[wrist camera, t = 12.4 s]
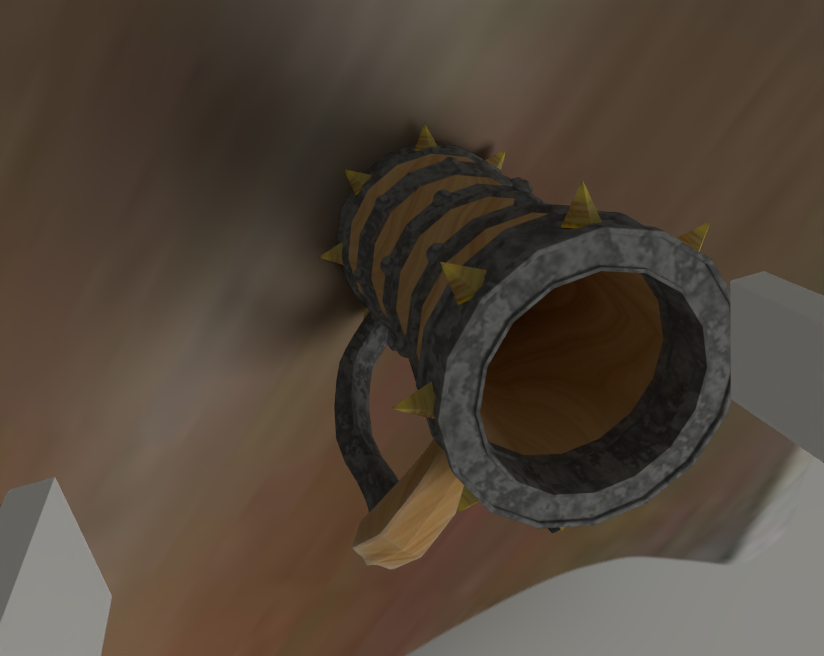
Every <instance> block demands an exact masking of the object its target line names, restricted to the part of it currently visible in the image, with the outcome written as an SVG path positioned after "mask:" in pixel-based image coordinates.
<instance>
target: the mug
mask: <svg viewBox="0 0 824 656" xmlns="http://www.w3.org/2000/svg"><path fill="white" fill-rule="evenodd" d="M505 153H506V150H504V151H502V152H500V153H498V154H496V155H494V156H492V157H490V158H488V159H486V160H483V159H481V158H480V157H478V156H476V155H474V154H473V153H471V152H469V151H467V150H463V149H461V148H460V147H458V146H450V145H440V144H436V142H435V141H434V139H433V137H432V135H431V133H430V132H429V130H428V128H427V126H426V124H425V123H424V126H423V129H422V131H421V134H420V136H419V139H418V142H417V144H416V145H413V146H410V147H407V148H404V149H401V150H398V151H395V152H392V153H389V154H386V155H385V156H384V157H382V158H381V159H380V160H379V161H378V162H377V163H375V164H374V165H373V166H372V167H371V168H370V169H369V170H367V171H366V172H365V173H360V172H355V171H350V170H346V169H344V171H345V173H346V175H347V178H348V180H349V182H350V184H351V186H352V190H351V192H350V194H349V196H348V198H347V200H346V202H345V204H344V206H343V208H342V210H341V212H340V217H339V229H338V241H337V245H336V246H335V247H333V248H332V249H330V250H329V251H327V252H326V253H324V254H323V255H321V256H320V257H319V258H323V259H326V260H329V261H332V262H335V263H338V264H341V265H342V267H343V270H344V273H345V276H346V279H347V282H348V284H349V285H350V286H351V287H352V290H353V293H354V294H355V295H356V296H357V297H358V299H359V300H360V301H361V302H362V303H363V304H364V305H365V306H366V310H365V315H364V319H363V322H362V323H361V325H360V326H359V328H358V329H357V331H356V332H355V334H354V336H353V337H352V339H351V341H350V342H349V344H348V346H347V348H346V349H345V352H344V354H343V356H342V358H341V361H340V364H339V369H338V375H337V381H336V394H335V425H336V439H337V442H338V444H339V447H340V450H341V453H342V455H343V458H344V461H345V463H346V465H347V466H348V468H349V470H350V471H351V473H352V474H353V476H354V478H355V479H356V481H357V482H358V484H359V487H360V489H361V491H362V493H363V495H364V498H365V500H366V503H367V506H368V510H369V513H368V514H367V516H366V517H365V518H364V519H363V520H362V521H361V522H360V525H359V528H358V531H357V534H356V537H355V540H354V543H353V546H352V549H353V550H354V551H356V552H357V553H358V554H359V555H360V556H362V557H363V558H364V560H365V563H366V565H374V564H376V565H379V566H383V567H385V568H388V569H395V568H397V567H399V566H402V565H404V564H406V563H409V562H411V561H413V560H416V559H418V558H420V557H421V556H422V555H423V554H424V553H425V552H426V551H427V550H428V548H429V547H430V546H431V545H432V543H433V542H434V541H435V539H436V538H437V537H438V535H439V534H440V533H441V532H442V530H443V529H444V528H445V526H446V525H447V524H448V523H449V521H450V520H451V519H452V517H453V516H454V515H455V514H456V513H458V512H460V511H462V510H464V509H466V508H468V507H470V506H471V505H473V504H475V503H477V502H479V501H480V502H481V503H482V504H483V505H484V506H485V507H486V508H487V509H488V510H489V511H490V512H492V513H495V514H498V515H501V516H504V517H507V518H510V519H513V520H516V521H519V522H521V523H524V524H527V525H530V526H533V527H536V528H555V527H560V529H561V531H563V529H564V527H572V526H588V525H595V524H598V523H600V522H602V521H605V520H607V519H610V518H612V517H614V516H617V515H619V514H622V513H624V512H626V511H629V510H631V509H633V508H636V507H638V506H641V505H643V504H645V503H647V502H649V501H650V500H651V499H652V498H654V497H655V496H656V495H657V494H658V493H660V492H661V491H662V490H663V489H665V488H666V487H667V486H668V485H669V484H671V483H672V482H673V481H674V480H676V479H677V478H678V477H679V476H681V475H682V474H683V473H684V472H685V471H687V470H688V469H689V468H690V467H692V466H693V465H694V463H695V462H696V460H697V459H698V457H699V456H700V454H701V453H702V451H703V450H704V448H705V447H706V445H707V444H708V443H709V441H710V440H711V438H712V437H713V435H714V434H715V432H716V431H717V429H718V428H719V426H720V425H721V423H722V422H723V420H724V419H725V418H726V416H727V412H728V409H729V406H730V402H731V307H730V290H729V288H728V286H727V285H726V283H725V281H724V280H723V278H722V276H721V274H720V273H719V271H718V269H717V267H716V266H715V264H714V262H713V260H712V259H710V258H709V257H707V256H705V255H704V254H702V253H700V252H699V251H700V249H701V246H702V243H703V241H704V238H705V235H706V233H707V230H708V227H709V225H710V222H711V221H710V222H708V223H706V224H704V225H702V226H700V227H698V228H696V229H694V230H692V231H690V232H688V233H686V234H684V235H682V236H680V237H678V238H675V237H674V236H672V235H670V234H669V233H667V232H665V231H663V230H661V229H658V228H656V227H647V226H644V225H642V224H641V223H639V222H637V221H636V220H634V219H632V218H631V217H629V216H627V215H624V214H622V213H617V212H604V211H597V210H596V208H595V206H594V203H593V201H592V199H591V197H590V195H589V193H588V191H587V189H586V186H585V184H584V182H583V180H582V181H581V183H580V185H579V188H578V190H577V192H576V194H575V197H574V199H573V201H572V203H571V205H570V206H565V205H552V204H548V203H546V202H544V201H542V200H541V199H539V198H537V197H535V196H534V195H533V194H531V193H532V186H531V184H530V182H528V181H526V180H522V179H521V178H518V177H517V178H513V179H512V180H511V179H510V178H508V177H506V176H504V175H503V173H502V172H501V167H502V164H503V160H504V157H505ZM387 344H388V346H389V347H390V348H391V349H392V350H393V351H398V353H399V354H400V355H401V356H403V357H406V358H409V361H410V364H411V367H412V371H413V374H414V377H415V380H416V386H417V389H418V391H416V392H415V393H413V394H412V395H410V396H409V397H407V398H406V399H405V400H403V401H402V402H400V403H399V404H397V405H396V406H394V407H393V408H391V409H395V410H399V411H403V412H407V413H411V414H416V415H420V416H424V417H426V418H427V421H428V425H429V428H430V431H431V434H432V436H433V438H434V439H433V440H432V442H431V443H430V445H429V446H428V448H427V449H426V450H425V452H424V453H423V454H422V455H421V456H420V458H419V459H418V460H417V461H416V463H415V464H414V465H413V466H412V467H411V468H410V469H409V470H408V472H407V473H406V474H405V475H404V476H403V477H402V478H401V479H400V480H398V478H397V476H396V475H395V474H394V472H393V471H392V470H391V468H390V467H389V466H388V464H387V463H386V462H385V460H384V459H383V457H382V455H381V453H380V451H379V449H378V447H377V445H376V443H375V441H374V439H373V437H372V431H371V422H370V414H369V397H370V382H371V375H372V371H373V369H374V366H375V364H376V362H377V360H378V358H379V357H380V355H381V353H382V352H383V350H384V349H385V347H386V345H387Z"/></svg>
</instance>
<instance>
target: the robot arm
mask: <svg viewBox="0 0 824 656" xmlns="http://www.w3.org/2000/svg"><path fill="white" fill-rule="evenodd" d="M730 307H731V399H732V400H733V401H735V402H736V403H738V404H739V405H741V406H742V407H743V408H745V409H746V410H748V411H749V412H751V413H752V414H754V415H755V416H757V417H758V418H759V419H761V420H762V421H764V422H765V423H767V424H768V425H770V426H771V427H773V428H774V429H775V430H777V431H778V432H780V433H781V434H783V435H784V436H786V437H787V438H789V439H790V440H791V441H793V442H794V443H796V444H797V445H799V446H800V447H802V448H803V449H804V450H806V451H807V452H809V453H810V454H812V455H813V456H815V457H816V458H818V459H819V460H821V461H822V462H823V463H824V296H823V295H820V294H818V293H815V292H813V291H811V290H808V289H806V288H803V287H801V286H799V285H796V284H794V283H791V282H789V281H786V280H784V279H782V278H779V277H777V276H774V275H772V274H769V273H767V272H765V271H763V272H759V273H756V274H753V275H749V276H746V277H742V278H739V279H735V280H732V281H730ZM111 599H112V595H111V593H110V591H109V589H108V587H107V585H106V583H105V581H104V579H103V577H102V574H101V572H100V570H99V568H98V566H97V564H96V562H95V560H94V558H93V556H92V553H91V551H90V549H89V547H88V545H87V543H86V541H85V539H84V537H83V535H82V533H81V530H80V528H79V526H78V524H77V522H76V520H75V518H74V516H73V514H72V512H71V509H70V507H69V505H68V503H67V501H66V499H65V497H64V495H63V493H62V491H61V489H60V486H59V484H58V482H57V480H56V478H55V477H52V478H49V479H45V480H42V481H39V482H35V483H32V484H28V485H25V486H21V487H18V488H14V489H11V490H8V492H7V494H6V497H5V499H4V501H3V503H2V505H1V507H0V656H101V651H102V646H103V641H104V635H105V630H106V625H107V620H108V614H109V609H110V604H111Z"/></svg>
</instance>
